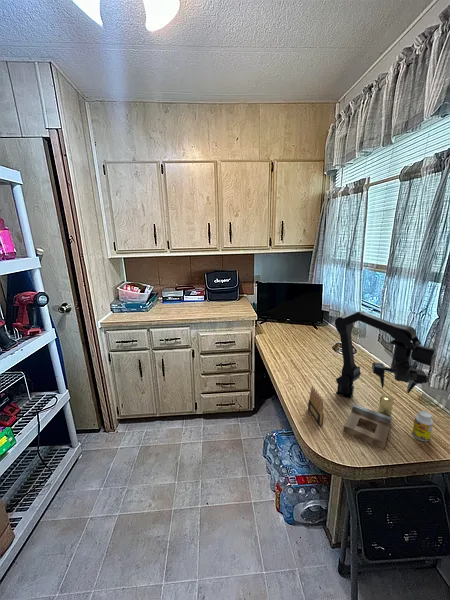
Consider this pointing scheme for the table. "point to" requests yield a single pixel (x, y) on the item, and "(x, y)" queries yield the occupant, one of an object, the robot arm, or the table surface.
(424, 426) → the supplement bottle
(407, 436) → the table surface
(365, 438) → the jig
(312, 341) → the table surface
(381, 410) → the cylinder
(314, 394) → the tan upright panel
